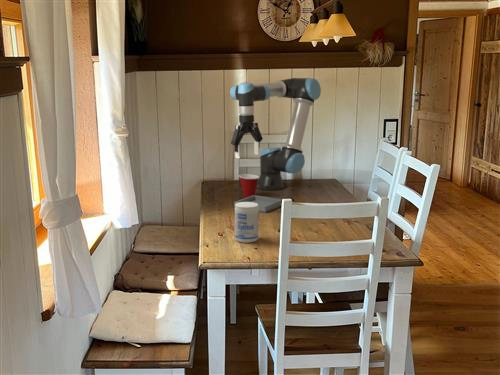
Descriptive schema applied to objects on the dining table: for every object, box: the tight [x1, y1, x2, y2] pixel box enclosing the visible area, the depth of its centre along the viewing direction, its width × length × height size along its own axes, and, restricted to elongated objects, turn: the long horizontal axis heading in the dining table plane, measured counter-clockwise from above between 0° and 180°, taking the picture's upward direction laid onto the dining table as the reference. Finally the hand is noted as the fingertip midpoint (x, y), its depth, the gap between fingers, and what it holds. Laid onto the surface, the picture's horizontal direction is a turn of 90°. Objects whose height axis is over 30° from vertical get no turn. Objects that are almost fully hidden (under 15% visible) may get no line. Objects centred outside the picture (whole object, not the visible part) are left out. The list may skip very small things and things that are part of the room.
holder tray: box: [233, 194, 283, 214], centre depth 269 cm, size 18×18×3 cm
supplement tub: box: [234, 202, 260, 244], centre depth 215 cm, size 10×10×15 cm
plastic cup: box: [238, 173, 260, 199], centre depth 287 cm, size 11×11×12 cm
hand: (247, 156), depth 274 cm, fingers open, 13 cm apart
